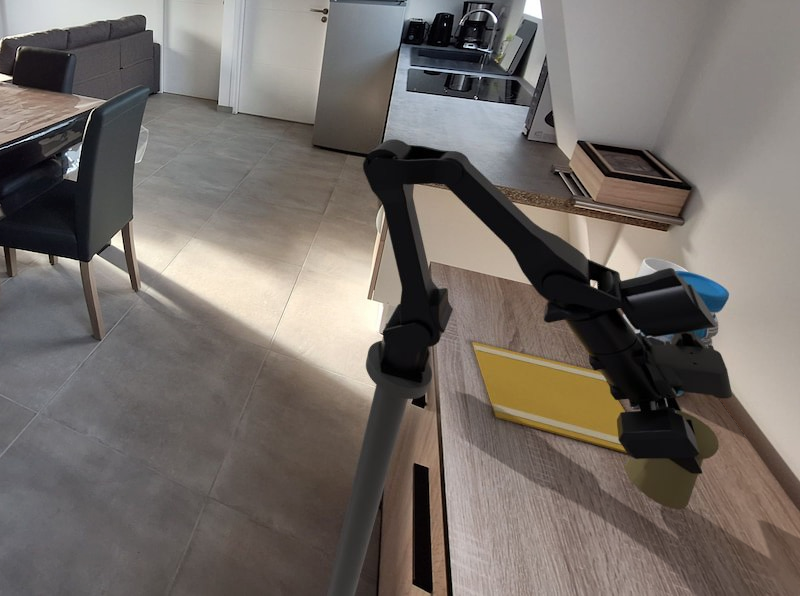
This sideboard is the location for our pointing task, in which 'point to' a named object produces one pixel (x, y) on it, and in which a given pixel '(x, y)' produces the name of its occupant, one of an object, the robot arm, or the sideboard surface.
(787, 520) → the sideboard surface
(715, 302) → the blue plastic jar
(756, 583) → the sideboard surface
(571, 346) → the sideboard surface
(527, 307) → the sideboard surface
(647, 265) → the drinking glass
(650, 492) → the cork
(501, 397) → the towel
